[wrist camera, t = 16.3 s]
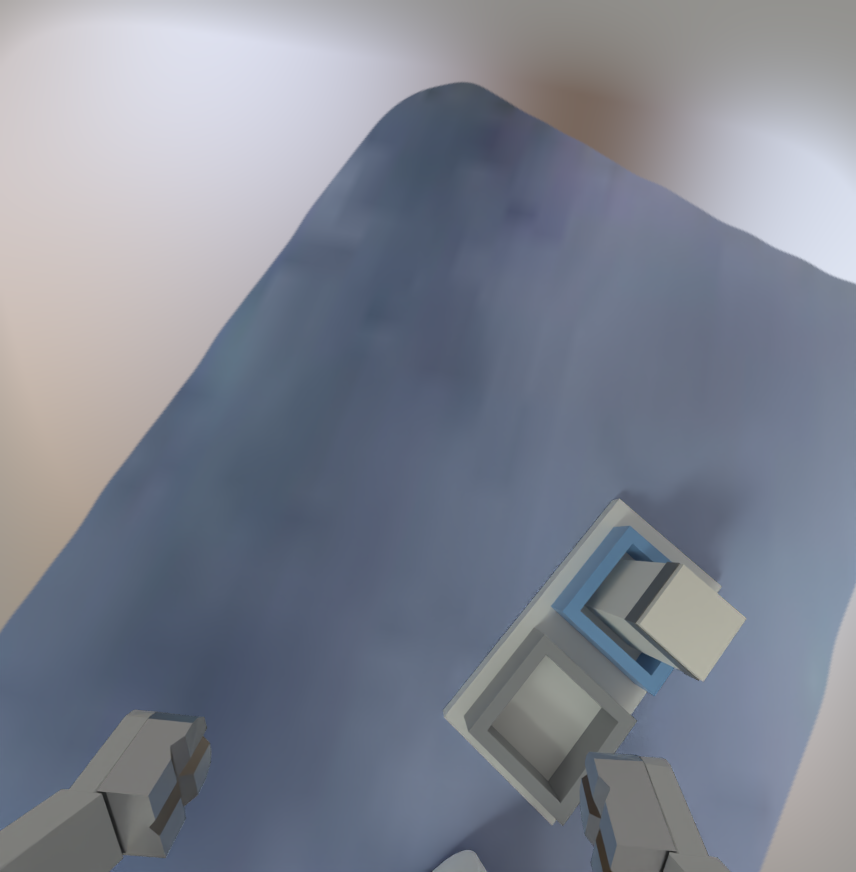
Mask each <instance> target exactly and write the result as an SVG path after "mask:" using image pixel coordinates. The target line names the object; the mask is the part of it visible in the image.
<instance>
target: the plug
mask: <svg viewBox="0 0 856 872" xmlns="http://www.w3.org/2000/svg"><path fill="white" fill-rule="evenodd" d="M584 606H586V607H587V608H588V609H589V610H590V611H591V612H592V613H593V614H594V615H595V616H597V617H598V618H599V619H600V620H601V621H602V622H603V623H604V624H605V625H606V626H608V627H609V628H610V629H611V630H612V631H613V632H614V633H615V634H616V635H617V636H619V637H620V638H621V639H622V640H623V641H624V642H625V643H626V644H627V645H628V646H630V647H632V648H634V649H636V650H638V651H640V652H642V653H645V654H647V655H649V656H651V657H653V658H655V659H657V660H659V661H661V662H663V663H666V664H668V665H670V666H672V667H674V668H676V669H678V670H680V671H682V672H683V673H684V674H686V675H688V676H690V677H692V678H694V679H696V680H698V681H699V680H701V681H704V680H705V678H706V677H707V676H708V674H709V673H710V671H711V670H712V668H713V667H714V665H715V664H716V662H717V661H718V659H719V658H720V657H721V655H722V654H723V652H724V651H725V649H726V648H727V646H728V645H729V643H730V642H731V640H732V639H733V638H734V636H735V635H736V633H737V632H738V630H739V629H740V627H741V626H742V624H743V623H744V621H745V620H746V618H745V617H744V616H743V615H742V614H741V613H740V612H738V611H737V610H736V609H735V608H734V607H733V606H731V605H730V604H729V603H728V602H727V601H726V600H724V599H723V598H722V597H721V596H720V595H719V594H717V593H716V592H715V591H714V590H713V589H712V588H711V587H709V586H708V585H707V584H706V583H705V582H704V581H702V580H701V579H700V578H699V577H698V576H697V575H695V574H694V573H693V572H692V571H691V570H690V569H688V568H687V567H686V566H685V565H684V564H680V563H675V562H667V563H658V562H646V561H633V560H621V559H620V560H619V561H618V563H617V564H616V565H615V567H614V568H613V569H612V570H611V572H610V573H609V574H608V576H607V577H606V578H605V579H604V581H603V582H602V583H601V585H600V586H599V587H598V589H597V590H596V591H595V592H594V594H593V595H592V596H591V598H590V599H589V600H588V601H587V603H586V604H585V605H584Z"/></svg>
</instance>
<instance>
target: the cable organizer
mask: <svg viewBox="0 0 856 872" xmlns="http://www.w3.org/2000/svg"><path fill="white" fill-rule="evenodd" d="M432 872H487V871H486V869H485V867H484V866H483V864H482V863H481V861H480V859H479V858H478V856H477V854H476V853H475V852H474V851H472V850H463V851H460V852H458V853H456V854H454V855H452V856H451V857H449V858H448V859H446V860H445V861H444V862H442V863H441V864H440V865H439V866H438V867H437V868H436V869H434V870H433V871H432Z"/></svg>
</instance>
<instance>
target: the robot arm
mask: <svg viewBox="0 0 856 872" xmlns="http://www.w3.org/2000/svg"><path fill="white" fill-rule="evenodd" d="M206 729H207V726H206V722H205V718H204V717H198V716H189V715H180V714H170V713H161V712H154V711H143V710H133V711H132V712H130V713H129V714H128V715H126V716H125V717H124V718H123V720H122V721H121V722H120V724H119V725H118V726H117V728H116V729H115V730H114V731H113V733H112V734H111V735H110V737H109V738H108V739H107V741H106V742H105V743H104V744H103V746H102V747H101V748H100V750H99V751H98V752H97V754H96V755H95V756H94V757H93V759H92V760H91V761H90V763H89V764H88V765H87V767H86V768H85V769H84V771H83V772H82V773H81V774H80V776H79V777H78V778H77V780H76V781H75V782H74V784H73V785H72V786H71V787H70V789H61V790H60V791H58V792H57V793H55V794H54V795H52V796H51V797H49V798H48V799H47V800H45V801H44V802H42V803H41V804H39V805H38V806H36V807H35V808H33V809H32V810H30V811H29V812H27V813H26V814H24V815H23V816H22V817H20V818H19V819H17V820H16V821H14V822H13V823H11V824H10V825H8V826H7V827H5V828H4V829H2V830H1V831H0V872H109V871H110V870H111V869H112V868H113V867H114V866H115V865H116V864H117V863H119V862H120V861H121V860H122V859H123V855H133V856H146V857H159V858H166V856H167V855H168V853H169V851H170V849H171V847H172V845H173V843H174V841H175V839H176V837H177V835H178V833H179V831H180V829H181V827H182V825H183V823H184V821H185V819H186V816H185V805H186V804H188V803H189V802H190V801H191V800H192V799H194V798H195V797H196V796H197V795H198V794H199V792H200V790H201V788H202V786H203V784H204V782H205V780H206V777H207V773H208V770H209V767H210V763H211V746H210V742H209V741H208V740H207V739H206V738H204V737H203V735H204V733H205V731H206ZM585 767H586V772H587V775H585V776H584V777H583V778H581V784H580V811H581V819H582V824H583V829H584V834H585V836H586V837H587V838H588V839H589V841H590V842H591V843H592V845H593V846H594V849H593V854H592V858H591V867H592V871H593V872H730V870H729V869H728V868H727V867H726V866H725V865H724V864H723V863H722V862H721V861H720V860H719V859H718V858H717V857H711V856H709V855H708V853H707V850H706V848H705V846H704V843H703V841H702V839H701V836H700V834H699V831H698V829H697V827H696V824H695V822H694V820H693V817H692V815H691V813H690V810H689V808H688V805H687V803H686V801H685V798H684V796H683V794H682V791H681V789H680V787H679V784H678V782H677V779H676V777H675V775H674V772H673V770H672V768H671V765H670V764H669V763H668V761H667V760H666V759H664V758H656V757H641V756H637V755H628V754H614V753H601V752H589V753H588V754H587V755H586V759H585Z"/></svg>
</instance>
